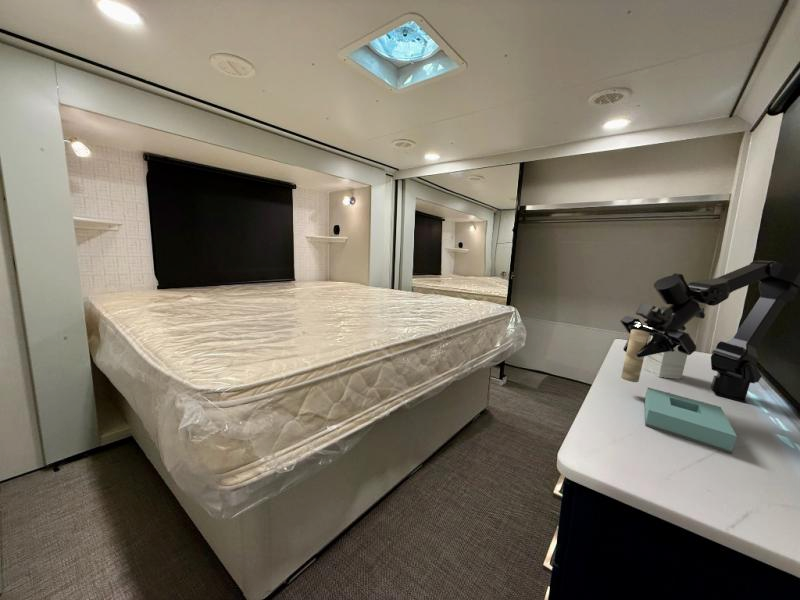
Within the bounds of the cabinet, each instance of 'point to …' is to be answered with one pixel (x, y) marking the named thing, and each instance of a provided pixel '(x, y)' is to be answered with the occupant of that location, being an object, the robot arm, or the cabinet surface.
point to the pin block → (689, 419)
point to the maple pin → (634, 355)
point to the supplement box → (666, 364)
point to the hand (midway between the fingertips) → (630, 353)
